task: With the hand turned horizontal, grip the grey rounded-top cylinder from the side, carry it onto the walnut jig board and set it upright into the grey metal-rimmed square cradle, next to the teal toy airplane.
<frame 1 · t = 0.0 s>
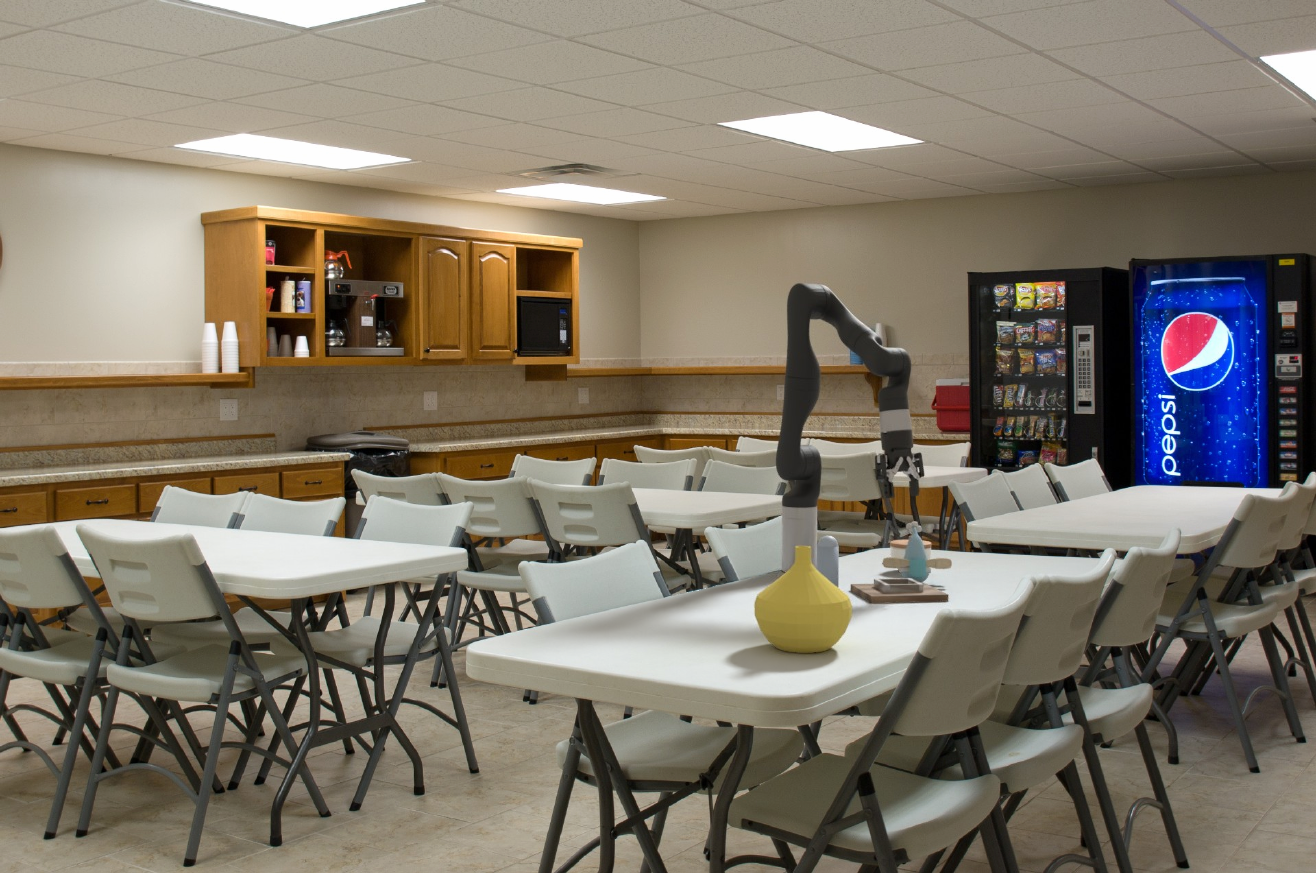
hand: (902, 497, 298), 22 cm above the table, tool pointing down, fingers open, 8 cm apart
lidded jar: (910, 572, 328), on the table
jig: (898, 595, 291), on the table
teal toy airplane: (915, 583, 309), on the table
vase: (802, 648, 235), on the table
grey rounded-top cylinder: (827, 597, 289), on the table
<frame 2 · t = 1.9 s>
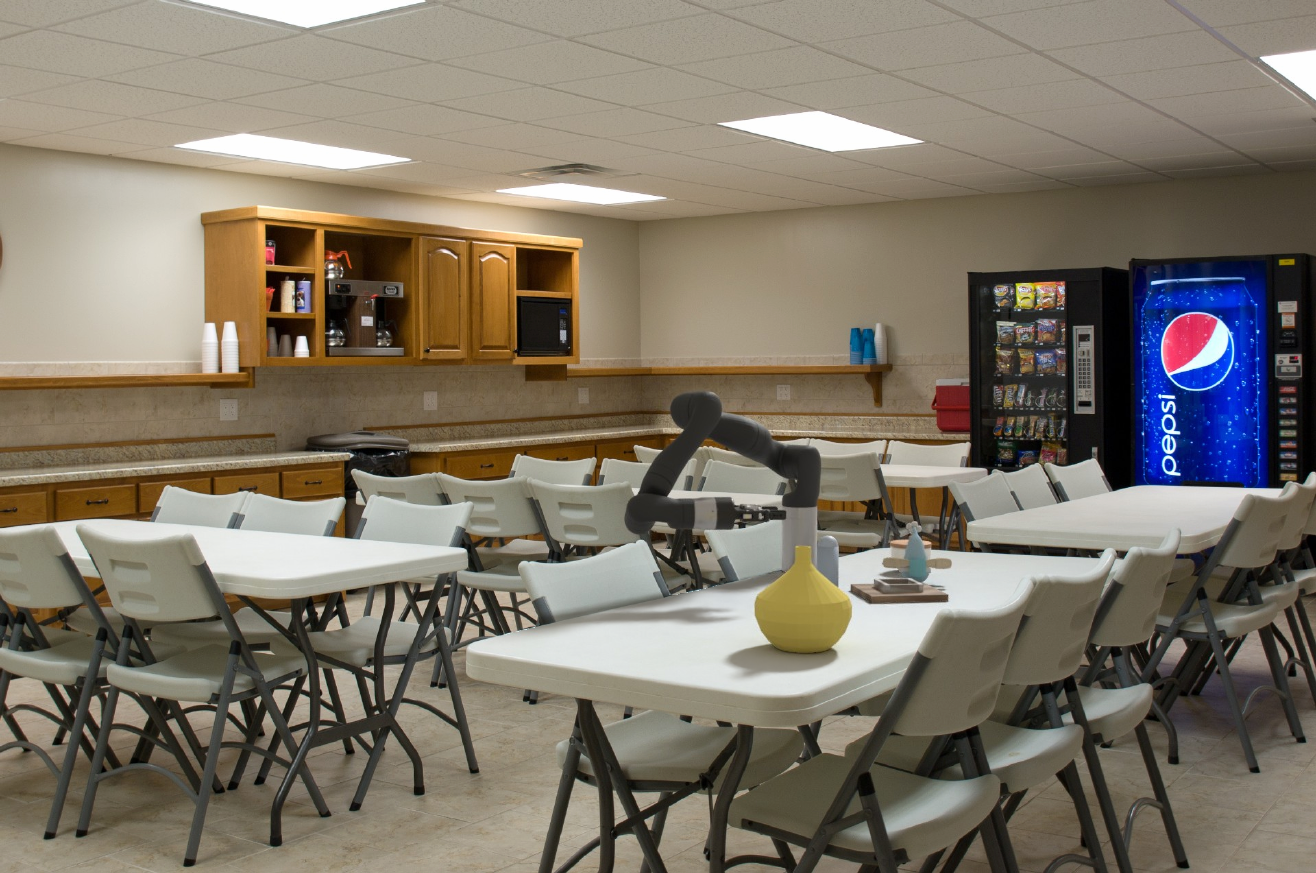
hand: (781, 512, 287), 20 cm above the table, tool horizontal, fingers open, 8 cm apart
nothing on the table moved.
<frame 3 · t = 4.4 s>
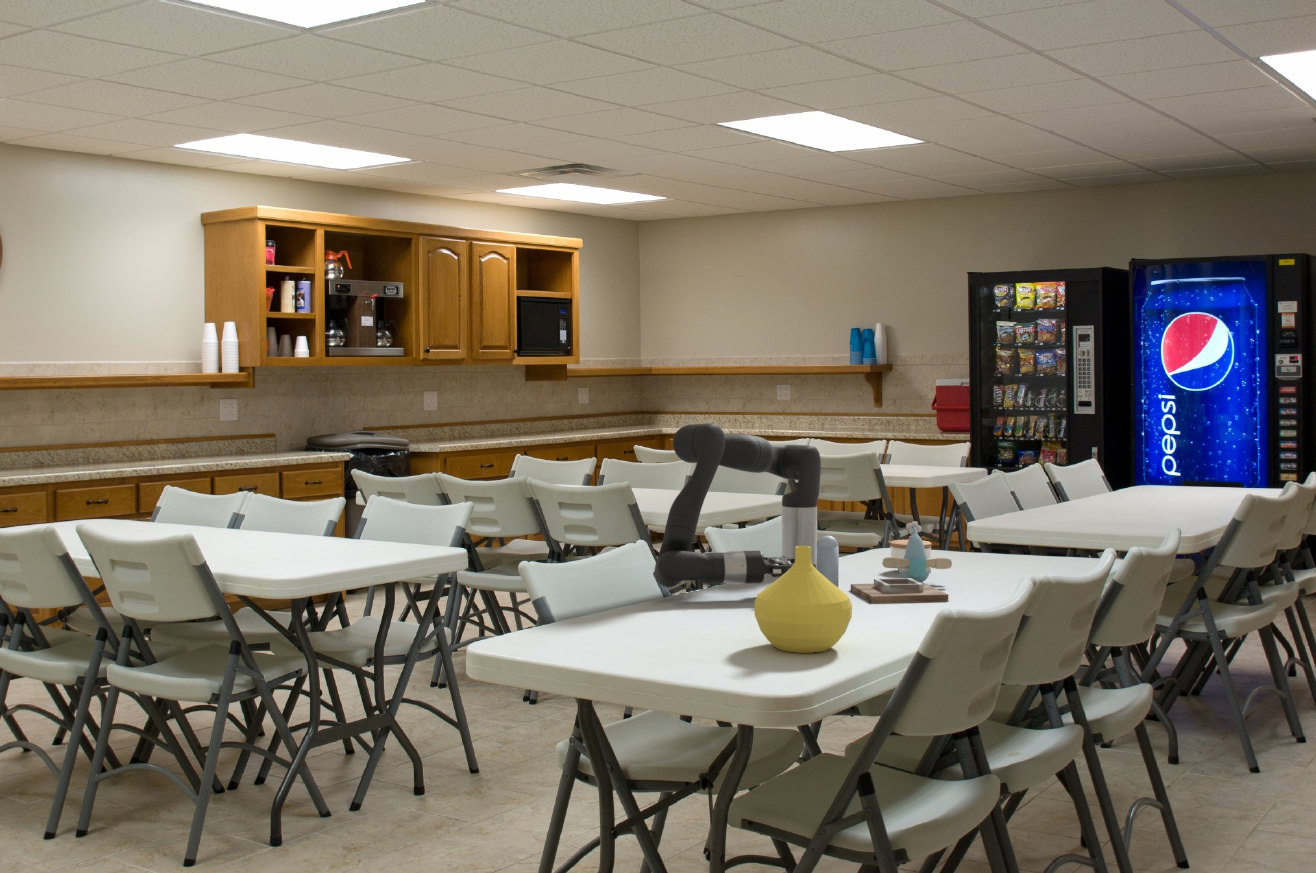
hand: (810, 565, 288), 7 cm above the table, tool horizontal, fingers open, 8 cm apart
nothing on the table moved.
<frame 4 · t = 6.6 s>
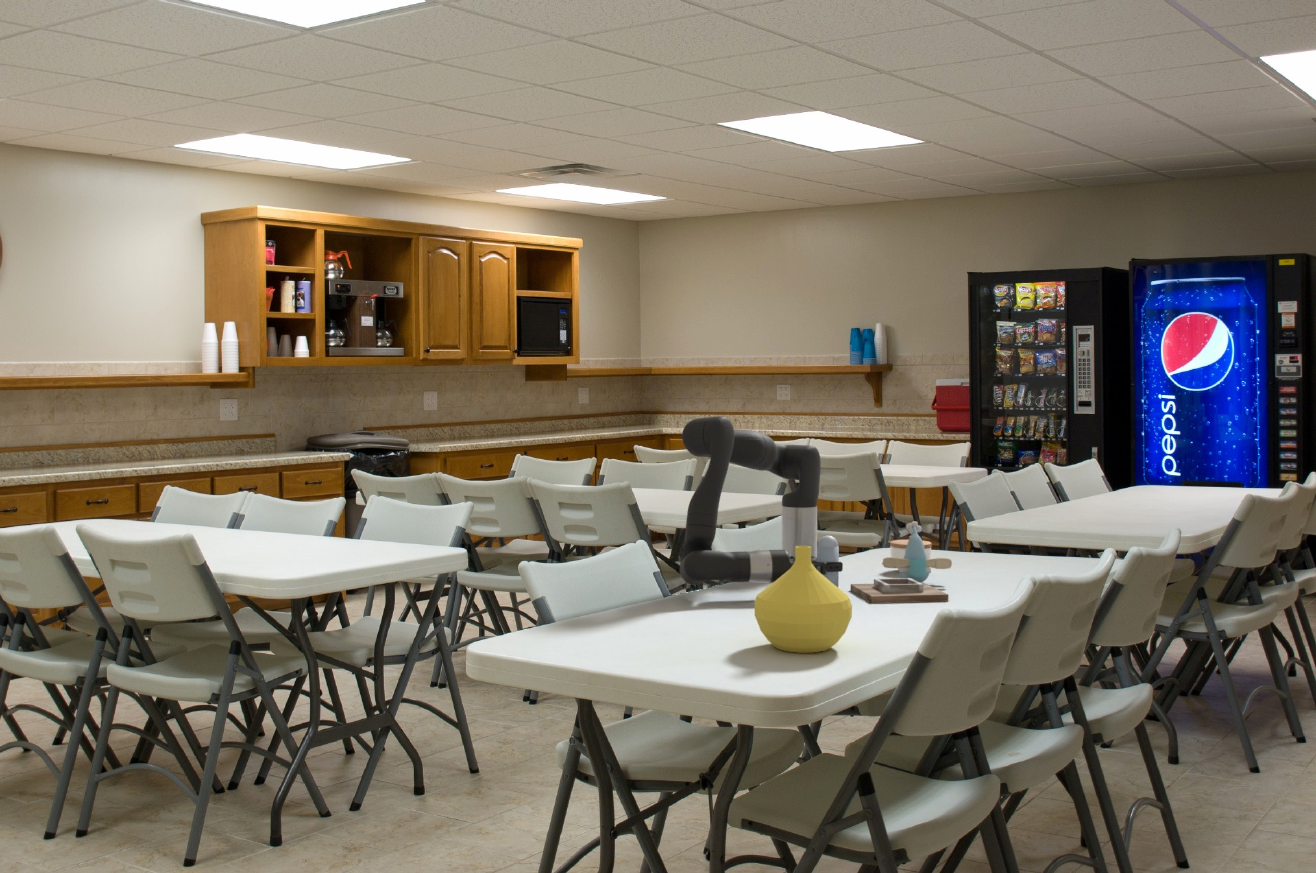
hand: (838, 564, 289), 8 cm above the table, tool horizontal, fingers closed on grey rounded-top cylinder, 5 cm apart
grey rounded-top cylinder: (827, 597, 289), on the table, touching gripper
everything else where it was.
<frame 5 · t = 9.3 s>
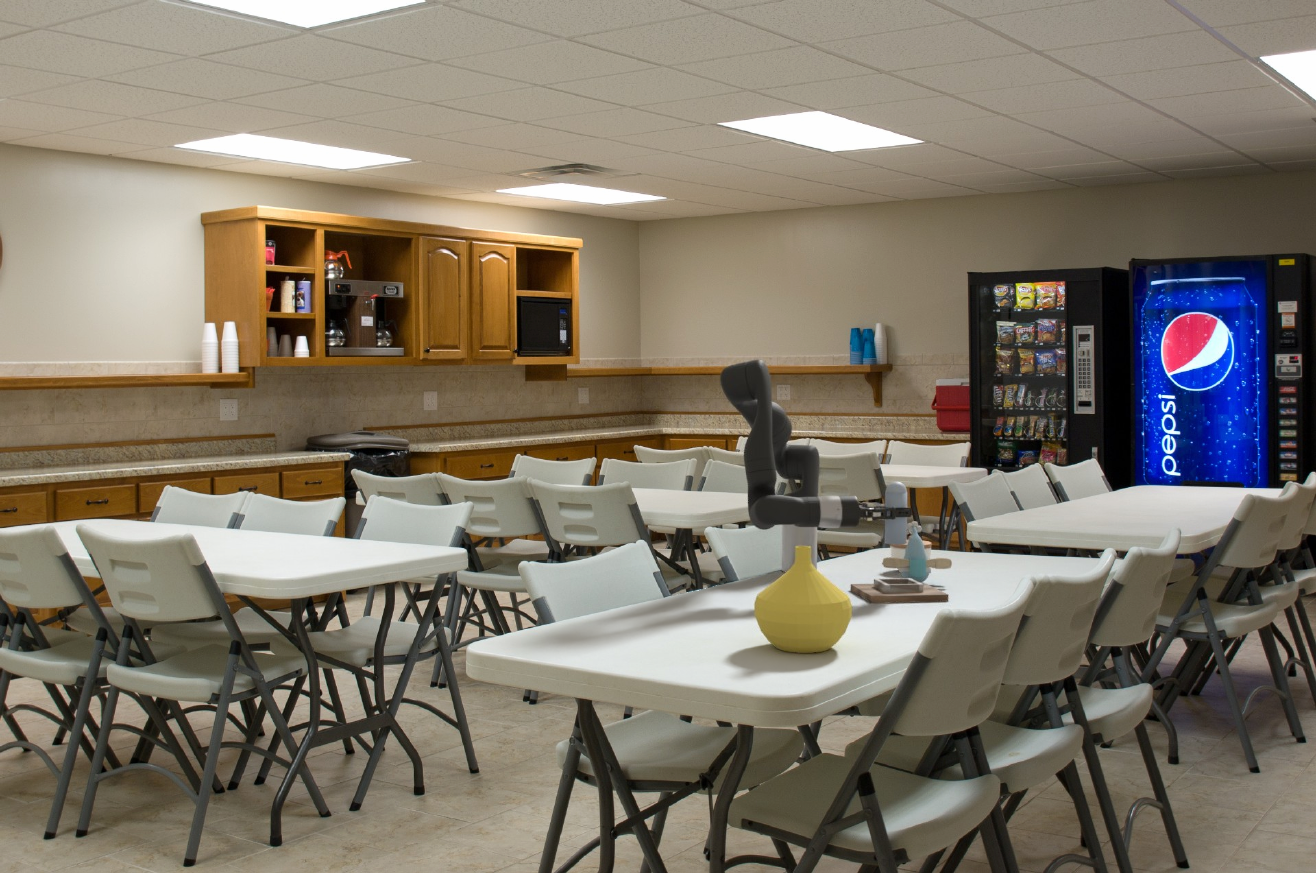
hand: (906, 510, 291), 20 cm above the table, tool horizontal, fingers closed on grey rounded-top cylinder, 5 cm apart
grey rounded-top cylinder: (895, 543, 291), point 12 cm above the table, touching gripper
everything else where it was.
when the fingers open (10 cm above the table, at t = 12.1 s): grey rounded-top cylinder stays where it is, resting on jig.
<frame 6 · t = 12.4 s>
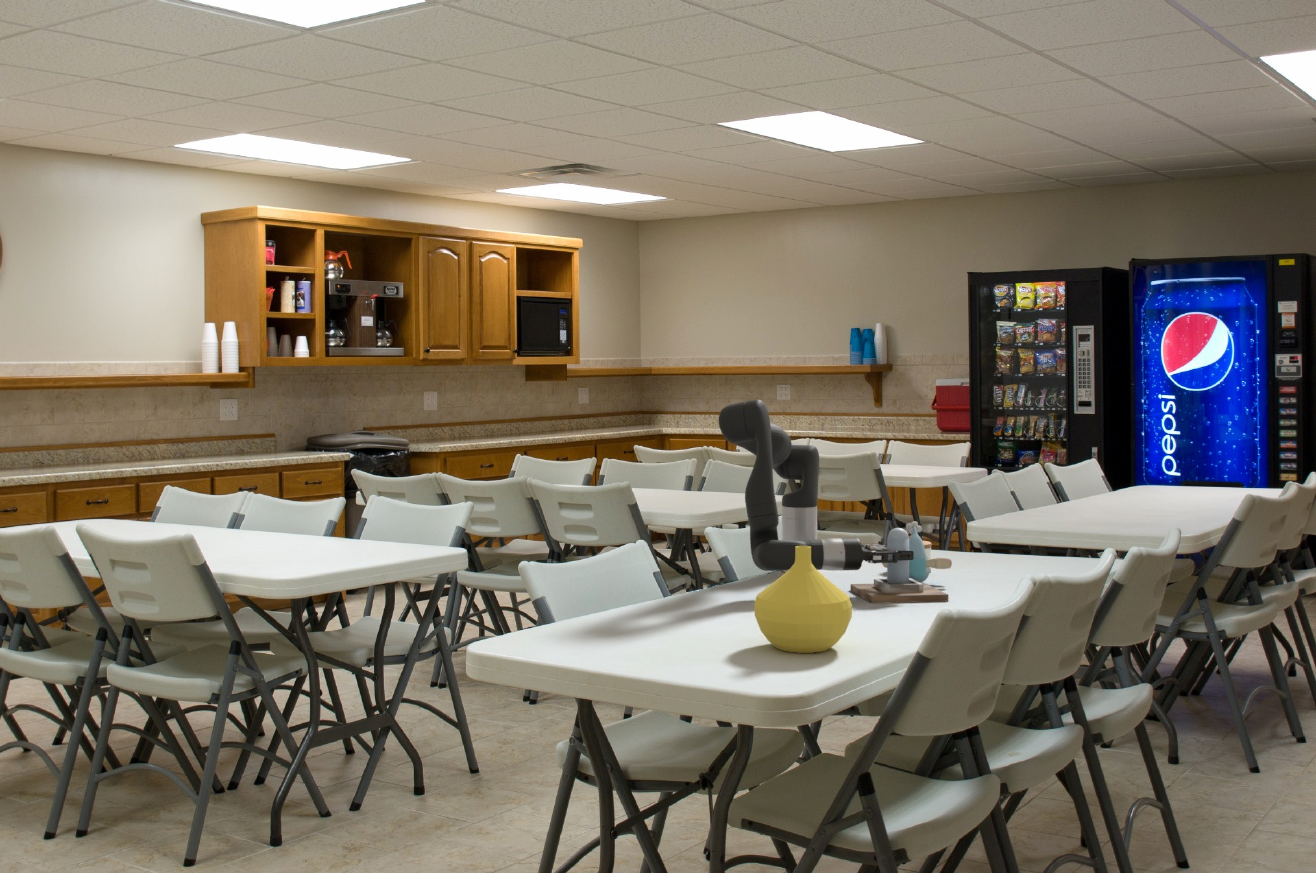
hand: (907, 552, 291), 10 cm above the table, tool horizontal, fingers open, 7 cm apart
grey rounded-top cylinder: (897, 589, 291), point 1 cm above the table, touching jig
everything else where it was.
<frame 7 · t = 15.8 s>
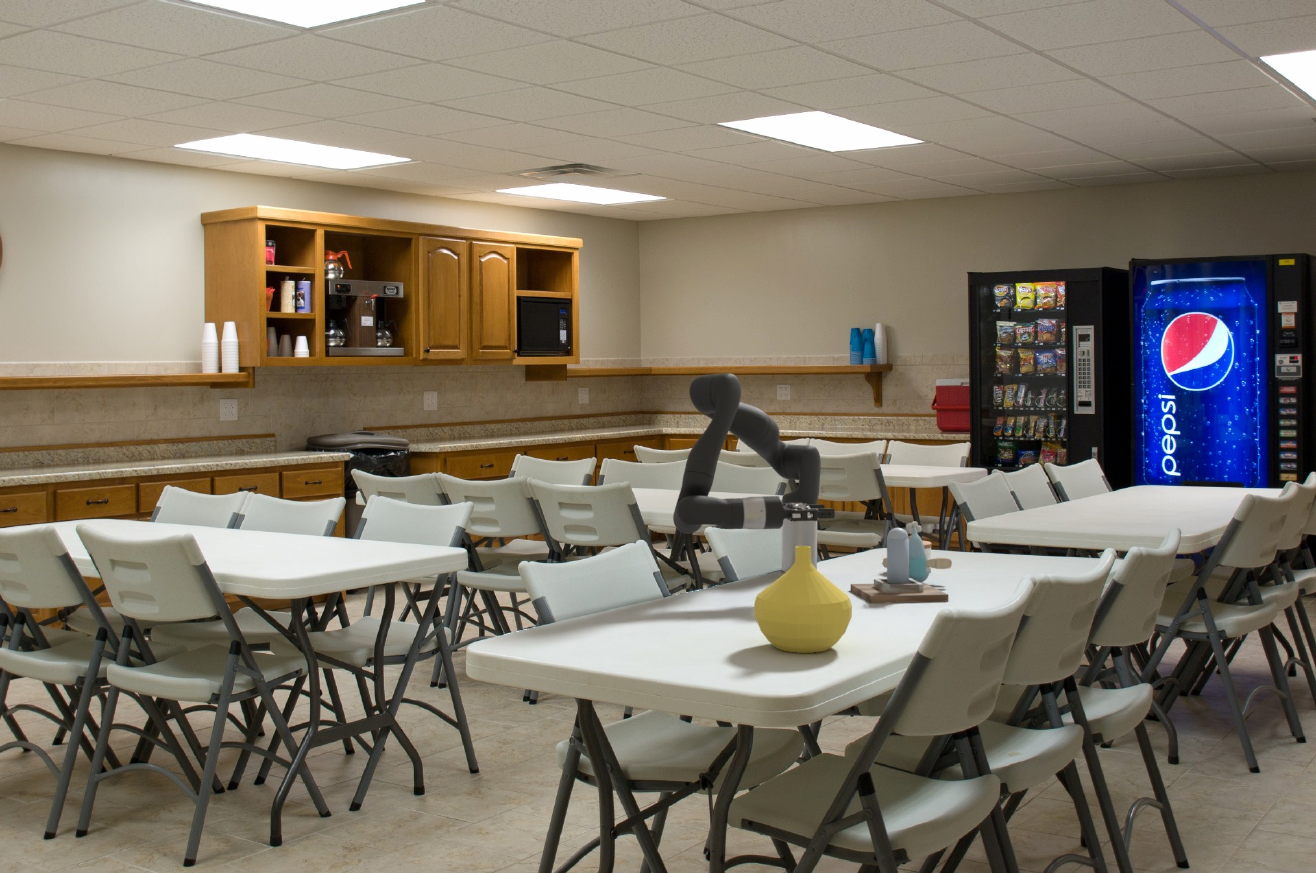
hand: (829, 511, 288), 20 cm above the table, tool horizontal, fingers open, 8 cm apart
nothing on the table moved.
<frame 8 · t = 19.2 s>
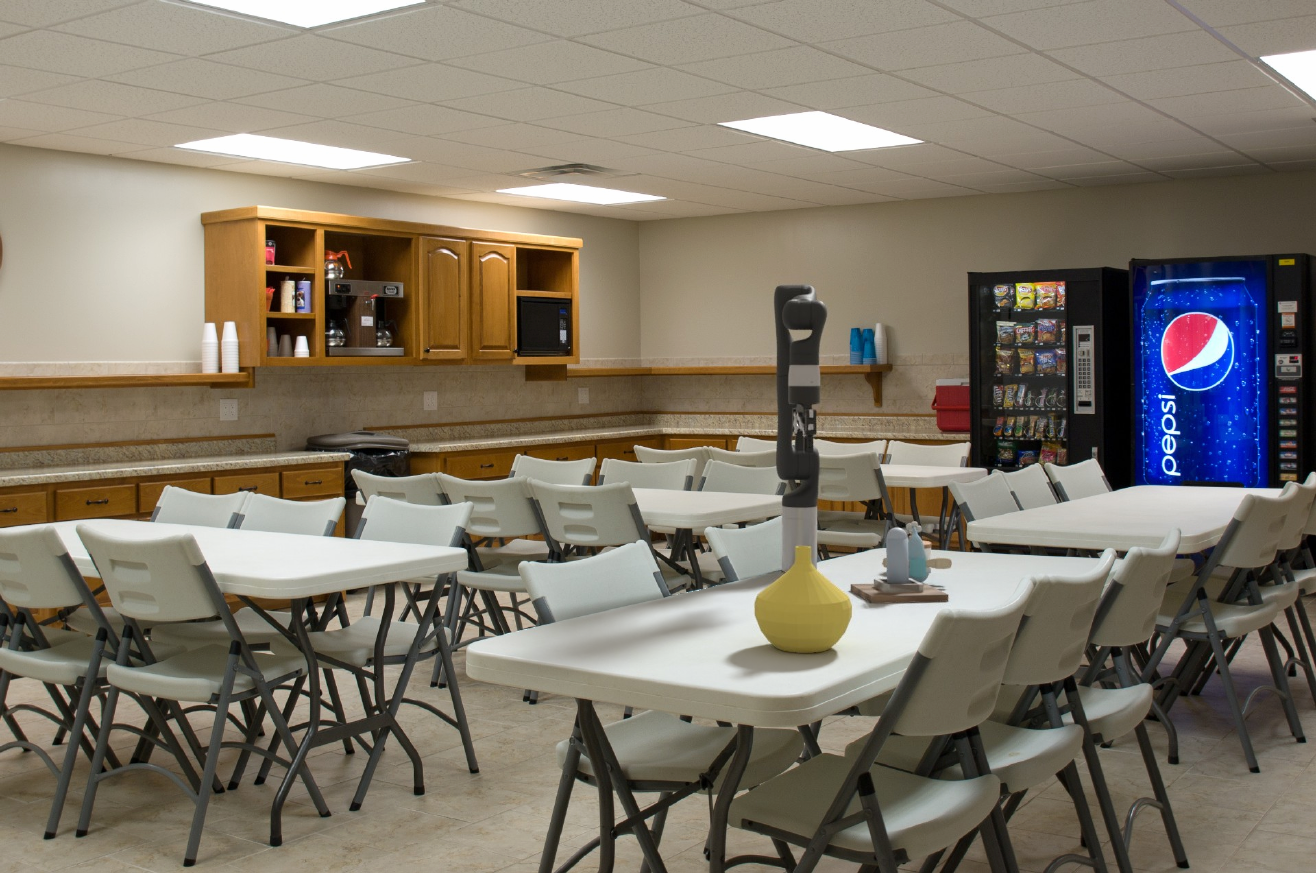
hand: (803, 452, 298), 33 cm above the table, tool pointing down, fingers open, 8 cm apart
nothing on the table moved.
at the end: grey rounded-top cylinder 0.1 cm off-centre on the jig, point 1.6 cm above the jig's base; grey rounded-top cylinder tilted 2°; the gripper is holding nothing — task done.
